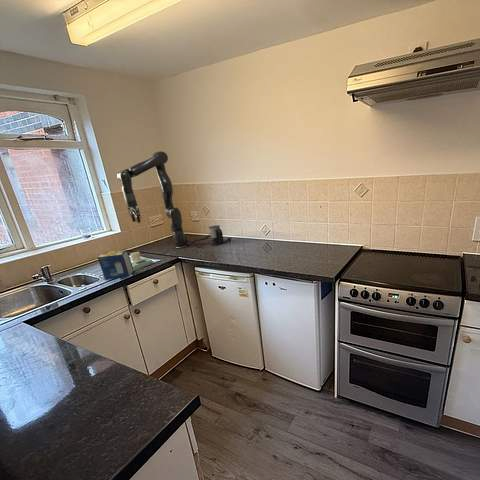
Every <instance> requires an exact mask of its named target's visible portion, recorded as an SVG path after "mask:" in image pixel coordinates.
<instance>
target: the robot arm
mask: <svg viewBox="0 0 480 480" xmlns="http://www.w3.org/2000/svg"><path fill="white" fill-rule="evenodd" d="M168 161H169V156H168V154H167V152H165V151H161V150H160V151H155V152H154V153H153V154H152V156H151V157H150V158H147V159H145V160H143V161H140V162H137V163H136V164H134V165H132V166H130V167H128V168H126V169H124V170H121V171H119V172H118V173H117V175H116V176H117V177H116V178H117V180H118V181H120V182H121V185H122V187H121V191H122V194H123V198H124V202H125V206H126V208H127V211H128V215H129V217H130V218H131V221H132V222H133V223H135V222H137V223H141V222H142V221H141V218H140V217H141V215H142V214H141V212H140V208H139V207H137V206H138V201H137V198H136V194H135V192H134V188H133V183H132V181H133V180H132V178H135V177H138V176H140V175H142V174H143V173H146V172H147V171H149V170H151V169H153V168H155V170H156V171H155V172H156V174H157V180H158V183H159V187H160V191H161V195H162V198H163V199H162V200H163V204H164V211H165V216H166V217H167V218H168V219H170V220H171V223H170V225H169V226H170V231H171V234H172V237H173V238H172V239H173V243H174V247H175V249H183V248H186V247H188V246H189V242H190V243H191V244H193V243H195V242H197V241H201V240H205V239H207V238H208V237H209V236H211V235H210V233H209V234H207V235H206V237H204V238H199V239H196V240H193V241H191V240H188V239H187V236H186V234H185V231H184V226H183V216H182V212H181V209H180V208H179V207H175V205H174V202H173V197H174V185H173V182H172V180H171V178H170V175H169V174H168V172H167V170H166V166H165V165H166V164H167V162H168Z"/></svg>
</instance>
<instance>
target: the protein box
mask: <svg viewBox="0 0 480 480" xmlns="http://www.w3.org/2000/svg"><path fill="white" fill-rule="evenodd" d="M97 260H98V263H99V266H100V269H101V271H102V275H103V279H104V280H112V279H119V278H127V277H129V276H131V274H133V272H135V271H134V270H135V269H133V267H132V264H131V256H130V254H129V251H128V249H123V250H114V251H106V252H103V253H102V254H100V255H98V256H97Z"/></svg>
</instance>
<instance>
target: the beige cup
mask: <svg viewBox="0 0 480 480" xmlns="http://www.w3.org/2000/svg"><path fill="white" fill-rule="evenodd" d="M129 256H130V260H131V259H132V260H133V261H137V260H140V259H141V257H142V256H141V253H140V251H134V252H131V253H130V254H129Z"/></svg>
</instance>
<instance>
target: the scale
mask: <svg viewBox="0 0 480 480" xmlns="http://www.w3.org/2000/svg"><path fill="white" fill-rule="evenodd" d="M130 260H131V264H132V267H133V270H135V269H138V268H142V267H144V266H147V265H151V264H153V259H150V258H147V257H144V256H141V259H140V260H137V261H133V260H132V259H131V258H130Z"/></svg>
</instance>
